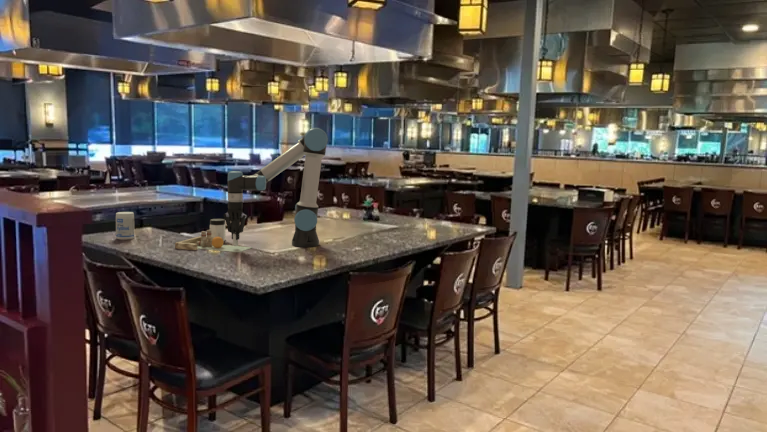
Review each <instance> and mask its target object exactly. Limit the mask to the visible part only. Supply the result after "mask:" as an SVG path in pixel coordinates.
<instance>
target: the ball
mask: <svg viewBox="0 0 767 432" xmlns="http://www.w3.org/2000/svg"><path fill="white" fill-rule="evenodd" d="M224 243H225V241H223V239H222V238H221V237H215V238H213V240H212V245H213V246H214V247H215V248H220V247H222V246H223V245H224Z"/></svg>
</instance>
